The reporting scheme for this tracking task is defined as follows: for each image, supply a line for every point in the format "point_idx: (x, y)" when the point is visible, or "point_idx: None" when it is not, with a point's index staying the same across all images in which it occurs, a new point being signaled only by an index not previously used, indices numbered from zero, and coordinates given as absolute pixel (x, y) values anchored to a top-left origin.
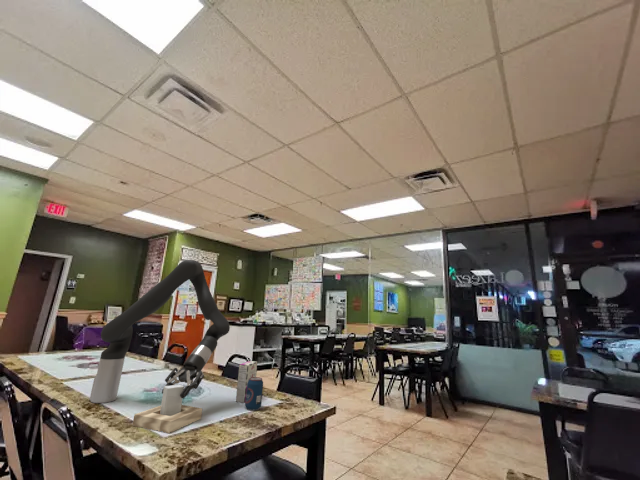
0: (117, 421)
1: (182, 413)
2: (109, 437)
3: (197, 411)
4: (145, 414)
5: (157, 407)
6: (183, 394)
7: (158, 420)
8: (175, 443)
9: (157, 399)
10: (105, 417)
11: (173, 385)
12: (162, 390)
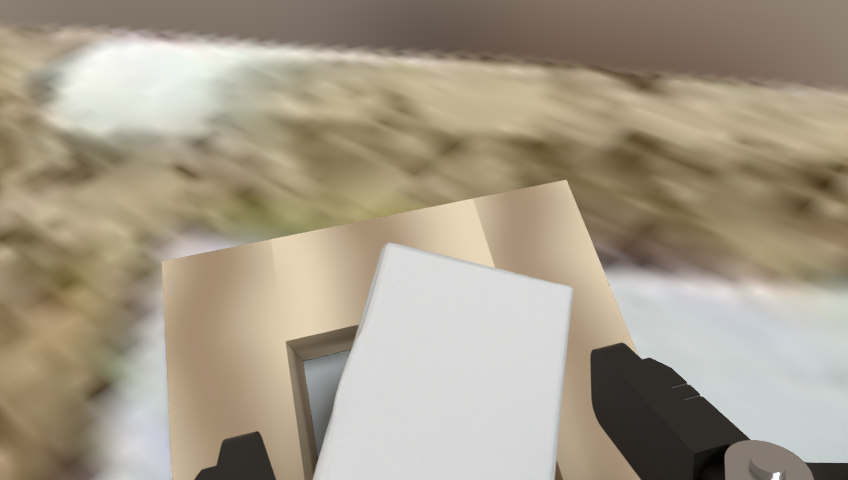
0: (700, 199)
1: None
2: (442, 63)
3: None
4: (499, 229)
5: None
6: (211, 472)
7: (302, 237)
8: (18, 223)
9: None
10: (840, 189)
11: (518, 440)
12: (657, 365)
